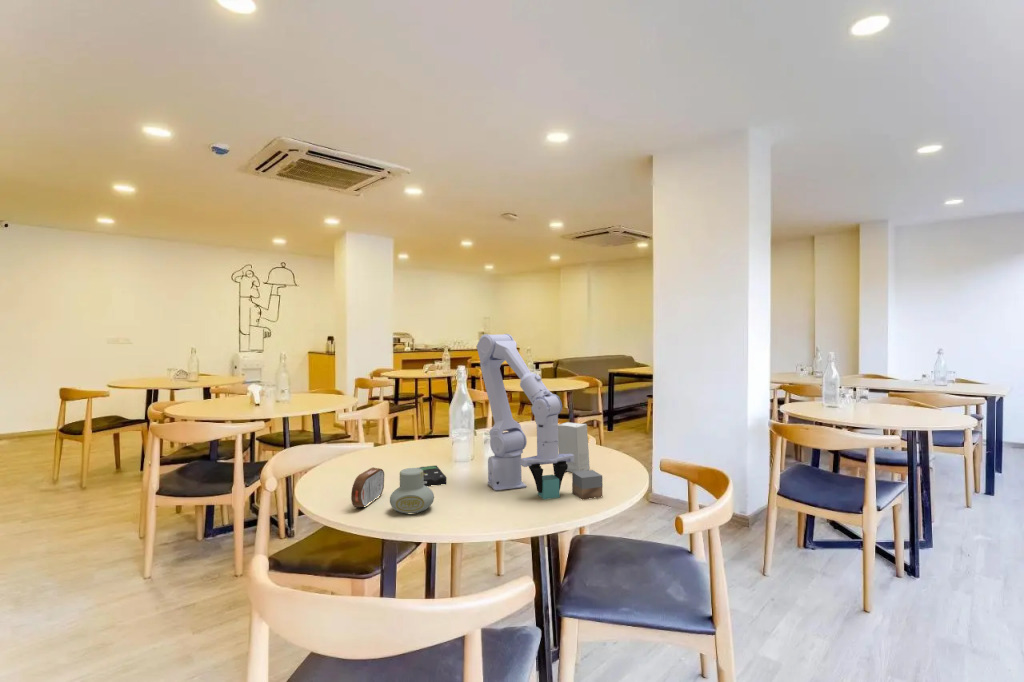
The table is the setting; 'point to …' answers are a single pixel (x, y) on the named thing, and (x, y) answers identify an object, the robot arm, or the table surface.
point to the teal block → (550, 487)
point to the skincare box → (574, 445)
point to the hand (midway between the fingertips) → (548, 490)
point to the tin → (367, 487)
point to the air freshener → (411, 492)
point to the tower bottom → (586, 492)
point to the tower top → (587, 479)
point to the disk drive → (433, 476)
